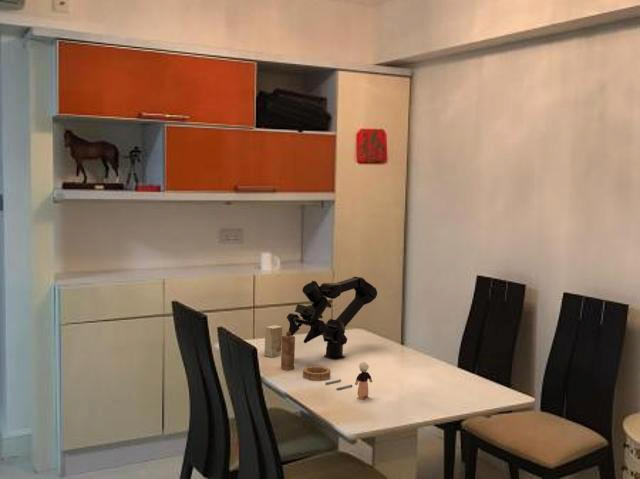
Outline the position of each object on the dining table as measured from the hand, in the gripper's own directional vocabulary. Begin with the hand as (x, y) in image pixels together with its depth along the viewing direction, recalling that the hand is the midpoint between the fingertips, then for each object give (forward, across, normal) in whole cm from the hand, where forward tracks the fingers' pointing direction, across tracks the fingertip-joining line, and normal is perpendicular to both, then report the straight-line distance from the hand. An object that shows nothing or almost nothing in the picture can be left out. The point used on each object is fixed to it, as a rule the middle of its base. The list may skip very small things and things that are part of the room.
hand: (295, 340), depth 273 cm
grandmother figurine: (+14, +42, +2) cm, 44 cm away
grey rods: (+10, +27, +5) cm, 29 cm away
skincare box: (+4, -18, +11) cm, 22 cm away
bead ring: (+9, +14, +6) cm, 18 cm away
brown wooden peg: (+10, 0, +5) cm, 11 cm away
